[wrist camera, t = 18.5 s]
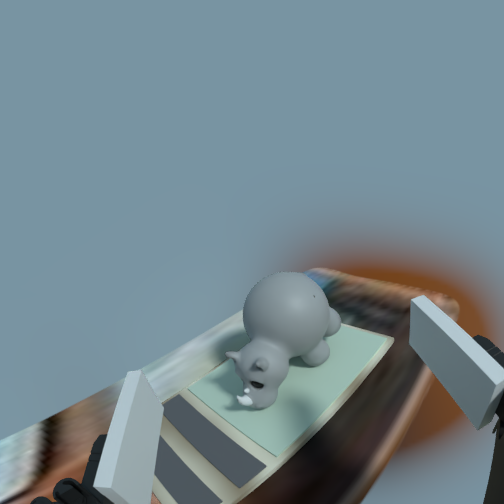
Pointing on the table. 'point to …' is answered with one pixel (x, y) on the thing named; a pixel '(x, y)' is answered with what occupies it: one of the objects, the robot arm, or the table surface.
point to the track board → (244, 440)
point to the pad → (290, 391)
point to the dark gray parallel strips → (210, 446)
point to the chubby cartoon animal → (281, 334)
